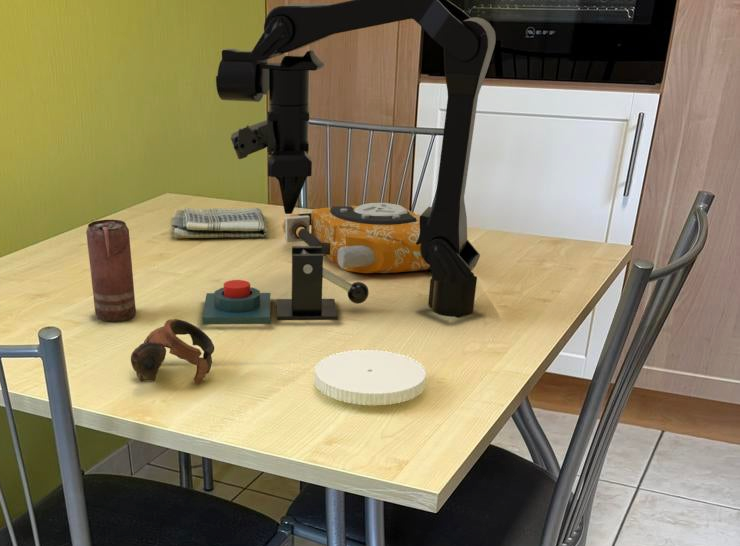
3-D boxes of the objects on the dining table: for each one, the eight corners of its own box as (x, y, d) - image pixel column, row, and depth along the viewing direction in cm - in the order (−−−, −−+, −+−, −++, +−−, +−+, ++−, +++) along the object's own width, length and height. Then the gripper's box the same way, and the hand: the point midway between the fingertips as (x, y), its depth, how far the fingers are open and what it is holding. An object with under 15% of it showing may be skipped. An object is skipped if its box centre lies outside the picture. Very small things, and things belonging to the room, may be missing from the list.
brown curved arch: (158, 359, 127) (186, 310, 123) (205, 403, 125) (234, 355, 121) (101, 367, 117) (128, 314, 113) (150, 415, 115) (180, 362, 111)
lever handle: (360, 303, 141) (371, 285, 140) (361, 310, 139) (373, 292, 137) (293, 264, 138) (304, 245, 137) (293, 270, 136) (305, 251, 134)
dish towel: (262, 215, 192) (262, 199, 190) (268, 239, 177) (268, 222, 175) (173, 217, 191) (172, 201, 189) (171, 241, 176) (170, 224, 174)
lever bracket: (334, 305, 144) (336, 243, 139) (337, 324, 137) (339, 258, 132) (276, 306, 144) (276, 243, 139) (276, 324, 137) (276, 258, 132)
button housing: (270, 303, 145) (270, 281, 144) (270, 328, 136) (270, 305, 134) (207, 303, 146) (206, 281, 144) (202, 328, 136) (201, 305, 134)
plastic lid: (413, 366, 123) (415, 348, 122) (434, 411, 112) (436, 392, 110) (309, 368, 123) (309, 350, 122) (319, 414, 111) (320, 395, 110)
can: (98, 325, 137) (88, 231, 130) (93, 311, 143) (83, 220, 135) (139, 321, 139) (131, 227, 131) (132, 308, 144) (124, 216, 137)
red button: (250, 290, 141) (250, 279, 140) (250, 299, 137) (249, 288, 136) (224, 291, 141) (224, 279, 140) (223, 299, 137) (222, 288, 137)
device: (329, 240, 146) (275, 197, 170) (328, 291, 150) (275, 242, 175) (459, 228, 151) (388, 188, 175) (454, 278, 155) (386, 232, 180)
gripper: (235, 94, 141) (237, 199, 150) (231, 114, 125) (233, 229, 134) (308, 94, 141) (306, 198, 149) (312, 113, 125) (310, 229, 134)
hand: (288, 213), depth 142 cm, fingers closed
